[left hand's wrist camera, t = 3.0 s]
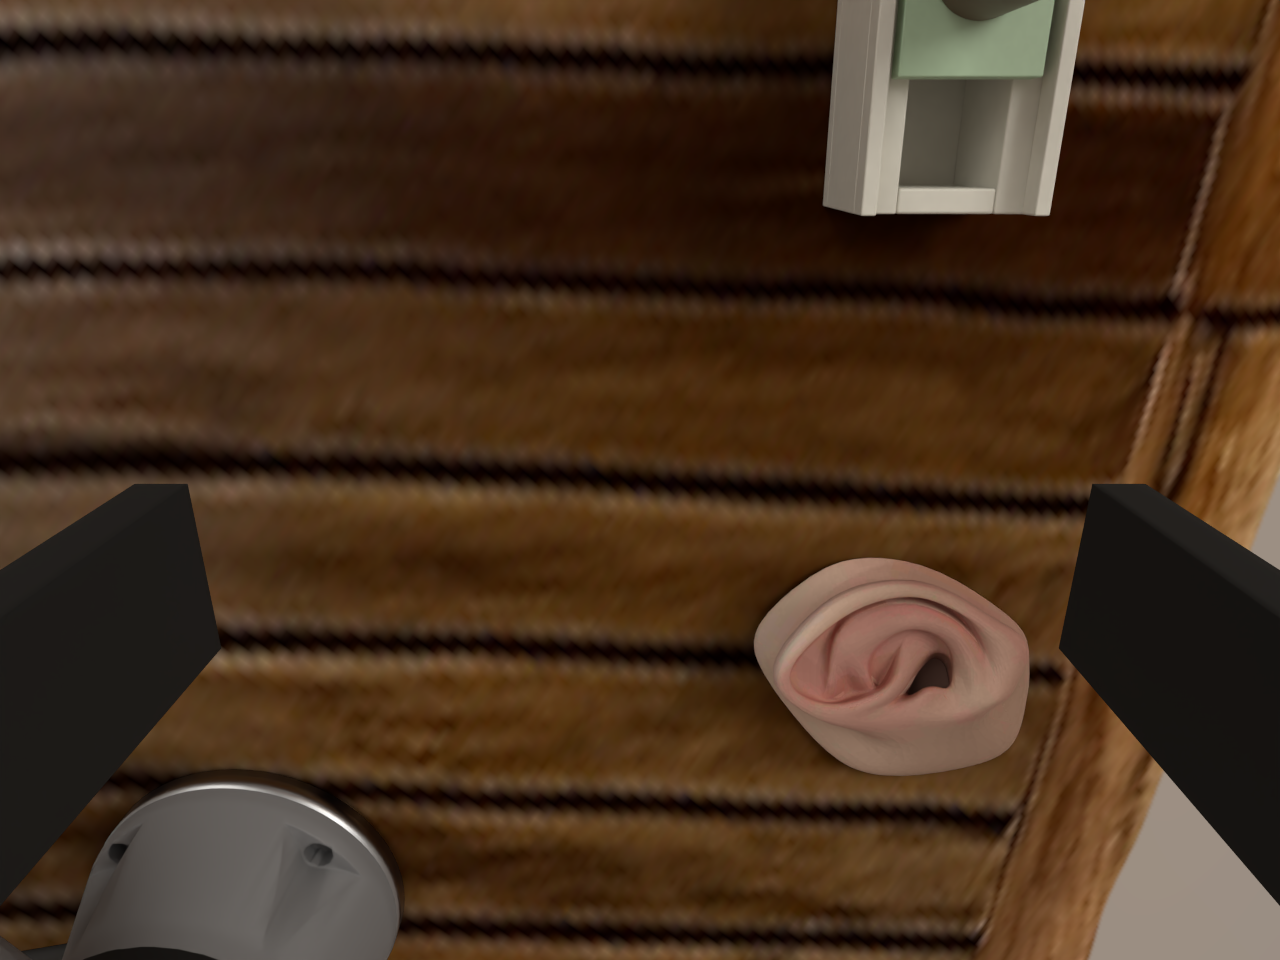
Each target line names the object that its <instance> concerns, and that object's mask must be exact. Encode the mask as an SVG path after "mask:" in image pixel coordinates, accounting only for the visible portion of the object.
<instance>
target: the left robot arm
mask: <svg viewBox="0 0 1280 960" xmlns="http://www.w3.org/2000/svg"><path fill="white" fill-rule="evenodd" d="M220 649H221V645H220V640H219V635H218V631H217V626H216V621H215V616H214V611H213V606H212V601H211V596H210V591H209V587H208V582H207V577H206V572H205V567H204V562H203V557H202V552H201V547H200V543H199V538H198V533H197V528H196V523H195V518H194V513H193V508H192V503H191V499H190V494H189V489H188V484H134V485H132V486H131V487H129V488H128V489H126V490H125V491H123V492H121V493H120V494H118V495H117V496H115V497H114V498H112V499H111V500H109V501H107V502H106V503H104V504H103V505H101V506H100V507H98V508H97V509H95V510H93V511H92V512H90V513H89V514H87V515H86V516H84V517H82V518H81V519H79V520H78V521H76V522H75V523H73V524H72V525H70V526H68V527H67V528H65V529H64V530H62V531H61V532H59V533H58V534H56V535H54V536H53V537H51V538H50V539H48V540H47V541H45V542H43V543H42V544H40V545H39V546H37V547H36V548H34V549H33V550H31V551H29V552H28V553H26V554H25V555H23V556H22V557H20V558H19V559H17V560H15V561H14V562H12V563H11V564H9V565H8V566H6V567H4V568H3V569H1V570H0V905H1V904H2V903H3V902H4V901H5V899H6V898H7V897H8V896H9V895H10V894H11V892H12V891H13V890H14V889H15V888H16V887H17V885H18V884H19V883H20V882H21V881H22V880H23V878H24V877H25V876H26V875H27V874H28V873H29V871H30V870H31V869H32V868H33V867H34V866H35V864H36V863H37V862H38V861H39V860H40V859H41V858H42V856H43V855H44V854H45V853H46V852H47V851H48V849H49V848H50V847H51V846H52V845H53V844H54V842H55V841H56V840H57V839H58V838H59V837H60V835H61V834H62V833H63V832H64V831H65V830H66V828H67V827H68V826H69V825H70V824H71V823H72V821H73V820H74V819H75V818H76V817H77V816H78V814H79V813H80V812H81V811H82V810H83V809H84V807H85V806H86V805H87V804H88V803H89V802H90V800H91V799H92V798H93V797H94V796H95V795H96V793H97V792H98V791H99V790H100V789H101V788H102V786H103V785H104V784H105V783H106V782H107V781H108V779H109V778H110V777H111V776H112V775H113V774H114V772H115V771H116V770H117V769H118V768H119V767H120V765H121V764H122V763H123V762H124V761H125V760H126V758H127V757H128V756H129V755H130V754H131V753H132V751H133V750H134V749H135V748H136V747H137V746H138V744H139V743H140V742H141V741H142V740H143V739H144V737H145V736H146V735H147V734H148V733H149V732H150V731H151V729H152V728H153V727H154V726H155V725H156V724H157V722H158V721H159V720H160V719H161V718H162V717H163V715H164V714H165V713H166V712H167V711H168V710H169V708H170V707H171V706H172V705H173V704H174V703H175V701H176V700H177V699H178V698H179V697H180V696H181V694H182V693H183V692H184V691H185V690H186V689H187V687H188V686H189V685H190V684H191V683H192V682H193V680H194V679H195V678H196V677H197V676H198V675H199V673H200V672H201V671H202V670H203V669H204V668H205V666H206V665H207V664H208V663H209V662H210V661H211V659H212V658H213V657H214V656H215V655H216V654H217V652H218V651H219V650H220ZM1059 649H1060V650H1061V651H1062V652H1063V654H1064V655H1065V656H1066V657H1067V658H1068V659H1069V661H1070V662H1071V663H1072V664H1073V665H1074V666H1075V668H1076V669H1077V670H1078V671H1079V672H1080V673H1081V675H1082V676H1083V677H1084V678H1085V679H1086V680H1087V682H1088V683H1089V684H1090V685H1091V686H1092V687H1093V689H1094V690H1095V691H1096V692H1097V693H1098V694H1099V696H1100V697H1101V698H1102V699H1103V700H1104V701H1105V703H1106V704H1107V705H1108V706H1109V707H1110V708H1111V710H1112V711H1113V712H1114V713H1115V714H1116V715H1117V717H1118V718H1119V719H1120V720H1121V721H1122V722H1123V724H1124V725H1125V726H1126V727H1127V728H1128V729H1129V731H1130V732H1131V733H1132V734H1133V735H1134V736H1135V737H1136V739H1137V740H1138V741H1139V742H1140V743H1141V744H1142V746H1143V747H1144V748H1145V749H1146V750H1147V751H1148V753H1149V754H1150V755H1151V756H1152V757H1153V758H1154V760H1155V761H1156V762H1157V763H1158V764H1159V765H1160V767H1161V768H1162V769H1163V770H1164V771H1165V772H1166V774H1167V775H1168V776H1169V777H1170V778H1171V779H1172V781H1173V782H1174V783H1175V784H1176V785H1177V786H1178V788H1179V789H1180V790H1181V791H1182V792H1183V793H1184V795H1185V796H1186V797H1187V798H1188V799H1189V800H1190V802H1191V803H1192V804H1193V805H1194V806H1195V807H1196V809H1197V810H1198V811H1199V812H1200V813H1201V814H1202V816H1203V817H1204V818H1205V819H1206V820H1207V821H1208V823H1209V824H1210V825H1211V826H1212V827H1213V828H1214V830H1215V831H1216V832H1217V833H1218V834H1219V835H1220V837H1221V838H1222V839H1223V840H1224V841H1225V842H1226V844H1227V845H1228V846H1229V847H1230V848H1231V849H1232V851H1233V852H1234V853H1235V854H1236V855H1237V856H1238V857H1239V859H1240V860H1241V861H1242V862H1243V863H1244V865H1245V866H1246V867H1247V868H1248V869H1249V870H1250V871H1251V873H1252V874H1253V875H1254V876H1255V877H1256V878H1257V880H1258V881H1259V882H1260V883H1261V884H1262V885H1263V887H1264V888H1265V889H1266V890H1267V891H1268V892H1269V894H1270V895H1271V896H1272V897H1273V898H1274V899H1275V901H1276V902H1277V903H1278V904H1279V905H1280V570H1279V569H1277V568H1276V567H1274V566H1272V565H1271V564H1269V563H1268V562H1266V561H1265V560H1263V559H1261V558H1260V557H1258V556H1257V555H1255V554H1254V553H1252V552H1251V551H1249V550H1247V549H1246V548H1244V547H1243V546H1241V545H1240V544H1238V543H1237V542H1235V541H1233V540H1232V539H1230V538H1229V537H1227V536H1226V535H1224V534H1222V533H1221V532H1219V531H1218V530H1216V529H1215V528H1213V527H1212V526H1210V525H1208V524H1207V523H1205V522H1204V521H1202V520H1201V519H1199V518H1198V517H1196V516H1194V515H1193V514H1191V513H1190V512H1188V511H1187V510H1185V509H1183V508H1182V507H1180V506H1179V505H1177V504H1176V503H1174V502H1173V501H1171V500H1169V499H1168V498H1166V497H1165V496H1163V495H1162V494H1160V493H1159V492H1157V491H1155V490H1154V489H1152V488H1151V487H1149V486H1148V485H1146V484H1092V489H1091V494H1090V499H1089V503H1088V508H1087V513H1086V518H1085V523H1084V528H1083V533H1082V538H1081V543H1080V547H1079V552H1078V557H1077V562H1076V567H1075V572H1074V577H1073V582H1072V587H1071V591H1070V596H1069V601H1068V606H1067V611H1066V616H1065V621H1064V626H1063V631H1062V635H1061V640H1060V645H1059ZM404 899H405V898H404V886H403V881H402V876H401V873H400V870H399V867H398V864H397V862H396V860H395V858H394V856H393V854H392V852H391V850H390V849H389V847H388V845H387V844H386V842H385V841H384V840H383V838H382V837H381V836H380V834H379V833H378V832H377V831H376V830H375V829H374V828H373V826H372V825H371V824H370V823H369V822H368V821H367V820H365V819H364V818H363V817H362V816H361V815H360V814H359V813H357V812H356V811H355V810H354V809H352V808H351V807H350V806H348V805H347V804H345V803H344V802H342V801H341V800H339V799H338V798H336V797H334V796H332V795H330V794H329V793H327V792H325V791H323V790H321V789H319V788H316V787H314V786H312V785H310V784H307V783H304V782H301V781H299V780H296V779H293V778H289V777H285V776H282V775H277V774H272V773H267V772H261V771H252V770H215V771H207V772H201V773H196V774H192V775H188V776H185V777H182V778H178V779H175V780H173V781H171V782H168V783H166V784H164V785H162V786H160V787H158V788H156V789H155V790H153V791H151V792H150V793H149V794H147V795H146V796H144V797H143V798H142V799H141V800H139V801H138V802H137V803H136V804H135V805H134V806H133V807H132V808H131V809H130V811H129V812H128V813H127V814H126V815H125V816H124V818H123V819H122V820H121V822H120V823H119V824H118V825H117V827H116V828H115V829H114V830H113V832H112V833H111V835H110V836H109V838H108V839H107V841H106V842H105V844H104V846H103V848H102V850H101V851H100V853H99V855H98V857H97V859H96V861H95V863H94V865H93V867H92V870H91V873H90V876H89V879H88V882H87V885H86V888H85V891H84V894H83V897H82V900H81V903H80V906H79V909H78V912H77V916H76V919H75V922H74V925H73V928H72V931H71V934H70V937H69V940H68V943H66V944H61V945H55V946H50V947H44V948H38V949H32V950H26V951H20V950H18V949H17V948H16V947H14V946H13V945H12V944H10V943H9V942H8V941H6V940H5V939H4V938H2V937H1V936H0V960H387V959H388V957H389V955H390V953H391V951H392V948H393V945H394V942H395V939H396V936H397V933H398V930H399V927H400V924H401V920H402V916H403V911H404Z"/></svg>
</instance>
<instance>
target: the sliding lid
mask: <svg viewBox="0 0 1280 960" xmlns="http://www.w3.org/2000/svg"><path fill="white" fill-rule="evenodd" d="M1054 1H1055V0H899V4H898V15H897V25H896V35H895V46H894V56H893V67H892V79H1035V78H1040V77H1042V76H1043V72H1044V66H1045V59H1046V53H1047V46H1048V40H1049V33H1050V27H1051V20H1052V14H1053V7H1054Z"/></svg>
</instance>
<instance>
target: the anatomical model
mask: <svg viewBox="0 0 1280 960" xmlns="http://www.w3.org/2000/svg"><path fill="white" fill-rule="evenodd" d="M754 651H755V655H756V658H757V661H758V663H759V665H760V667H761V669H762V671H763V673H764V675H765V676H766V678H767V679H768V681H769V683H770V684H771V686H772V687H773V689H774V690H775V692H776V693H777V694H778V696H779V697H780V699H781V700H782V701H783V702H784V704H785V705H786V706H787V708H788V709H789V710H790V711H791V713H792V714H793V715H794V716H795V718H796V719H797V720H798V721H799V722H800V724H801V725H802V726H803V727H804V728H805V729H806V731H807V732H808V733H809V734H810V735H811V736H812V737H813V738H814V739H815V740H816V741H817V742H818V743H819V744H820V745H821V746H822V747H823V748H824V749H825V750H826V751H827V752H829V753H830V754H831V755H833V756H834V757H835V758H836V759H838V760H839V761H841V762H842V763H844V764H846V765H848V766H850V767H852V768H854V769H857V770H860V771H863V772H867V773H871V774H877V775H892V776H907V775H922V774H929V773H936V772H944V771H949V770H954V769H959V768H964V767H968V766H972V765H976V764H979V763H982V762H985V761H988V760H991V759H993V758H995V757H997V756H999V755H1001V754H1002V753H1003V752H1005V751H1006V750H1007V749H1008V748H1009V747H1010V746H1011V745H1012V744H1013V742H1014V741H1015V739H1016V737H1017V735H1018V733H1019V730H1020V727H1021V724H1022V720H1023V715H1024V710H1025V705H1026V699H1027V693H1028V688H1029V650H1028V644H1027V640H1026V637H1025V635H1024V633H1023V631H1022V630H1021V629H1020V627H1019V626H1018V625H1017V624H1016V623H1015V622H1014V621H1013V620H1012V619H1011V618H1010V617H1009V616H1008V615H1006V614H1005V613H1004V612H1002V611H1001V610H1000V609H998V608H997V607H996V606H995V605H993V604H992V603H990V602H989V601H987V600H986V599H985V598H983V597H982V596H980V595H979V594H977V593H976V592H974V591H973V590H971V589H969V588H968V587H966V586H964V585H963V584H961V583H959V582H957V581H955V580H954V579H952V578H950V577H948V576H946V575H944V574H942V573H940V572H937V571H934V570H932V569H929V568H927V567H924V566H921V565H918V564H914V563H910V562H906V561H900V560H894V559H885V558H861V559H852V560H847V561H843V562H839V563H836V564H834V565H831V566H829V567H827V568H824V569H823V570H821V571H819V572H817V573H816V574H814V575H812V576H810V577H809V578H808V579H806V580H805V581H803V582H802V583H801V584H799V585H798V586H797V587H795V588H794V589H793V590H791V591H790V592H789V593H788V594H787V595H786V596H784V597H783V598H782V599H781V600H780V601H779V602H778V603H777V604H776V605H775V606H774V607H773V608H772V609H771V610H770V611H769V612H768V613H767V615H766V616H765V617H764V619H763V620H762V621H761V623H760V625H759V627H758V629H757V631H756V634H755V639H754Z"/></svg>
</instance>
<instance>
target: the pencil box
mask: <svg viewBox="0 0 1280 960" xmlns="http://www.w3.org/2000/svg"><path fill="white" fill-rule="evenodd" d="M1084 3H1085V0H1055V1H1054V7H1053V14H1052V20H1051V27H1050V33H1049V40H1048V46H1047V53H1046V59H1045V66H1044V72H1043V76H1042V77H1040V78H1035V79H892V67H893V56H894V46H895V35H896V25H897V15H898V4H899V0H838V7H837V20H836V34H835V47H834V61H833V75H832V88H831V102H830V115H829V129H828V142H827V156H826V170H825V183H824V197H823V206H825V207H829V208H833V209H837V210H841V211H845V212H849V213H853V214H857V215H861V216H875V215H876V214H895V213H896V214H991V213H992V214H1025V215H1032V216H1048V215H1049V214H1050V209H1051V203H1052V197H1053V191H1054V185H1055V178H1056V172H1057V166H1058V160H1059V154H1060V148H1061V142H1062V136H1063V130H1064V124H1065V118H1066V112H1067V106H1068V100H1069V94H1070V88H1071V82H1072V76H1073V70H1074V64H1075V58H1076V52H1077V46H1078V40H1079V34H1080V28H1081V21H1082V15H1083V9H1084Z"/></svg>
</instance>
